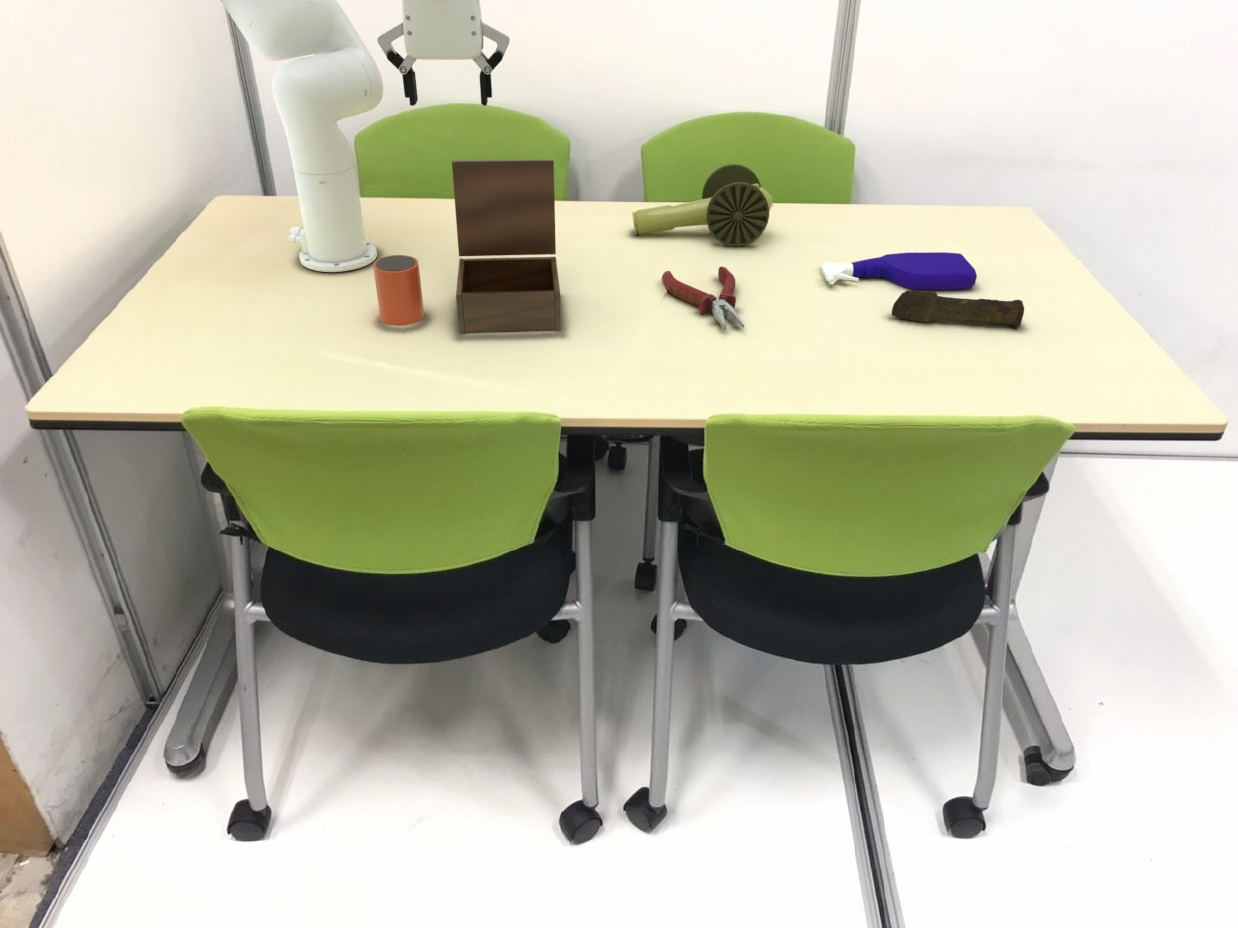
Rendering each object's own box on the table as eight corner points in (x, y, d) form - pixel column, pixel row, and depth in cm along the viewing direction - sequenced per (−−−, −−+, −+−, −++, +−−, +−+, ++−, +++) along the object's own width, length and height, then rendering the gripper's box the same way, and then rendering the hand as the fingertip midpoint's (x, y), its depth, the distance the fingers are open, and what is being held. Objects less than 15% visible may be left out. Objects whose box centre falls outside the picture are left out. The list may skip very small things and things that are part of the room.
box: (560, 335, 135) (560, 292, 131) (459, 338, 134) (455, 294, 130) (556, 297, 146) (555, 256, 142) (462, 299, 144) (459, 258, 141)
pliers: (697, 338, 135) (698, 322, 134) (659, 283, 151) (659, 268, 150) (770, 331, 138) (772, 315, 136) (725, 278, 154) (727, 263, 152)
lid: (553, 160, 135) (552, 153, 139) (451, 161, 133) (453, 154, 138) (555, 254, 141) (554, 244, 146) (458, 256, 140) (460, 246, 144)
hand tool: (1014, 320, 143) (1022, 292, 140) (1020, 331, 139) (1028, 303, 137) (889, 311, 145) (894, 283, 142) (891, 322, 141) (897, 293, 139)
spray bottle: (960, 249, 158) (817, 250, 157) (983, 275, 149) (831, 276, 148) (956, 266, 160) (814, 267, 159) (978, 292, 151) (828, 294, 150)
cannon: (632, 246, 164) (633, 182, 158) (631, 222, 174) (633, 161, 167) (773, 248, 165) (780, 185, 158) (764, 224, 174) (771, 164, 168)
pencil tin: (372, 326, 136) (364, 268, 131) (394, 308, 141) (387, 252, 136) (411, 333, 135) (404, 274, 130) (432, 315, 140) (426, 258, 135)
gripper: (506, -41, 121) (513, 96, 131) (372, -42, 120) (389, 96, 130) (504, -33, 115) (511, 110, 125) (363, -34, 114) (381, 110, 124)
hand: (449, 103), depth 128 cm, fingers open, 9 cm apart
